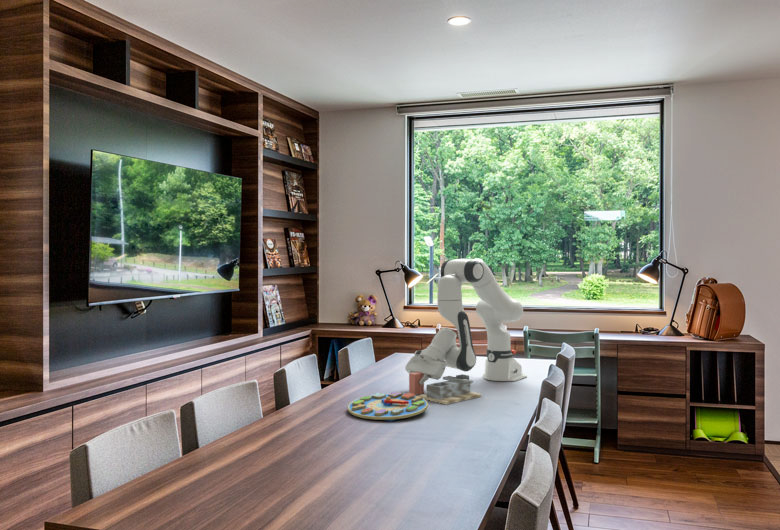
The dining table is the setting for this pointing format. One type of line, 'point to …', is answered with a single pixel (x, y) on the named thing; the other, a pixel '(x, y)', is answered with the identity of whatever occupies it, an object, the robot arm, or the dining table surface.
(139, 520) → the dining table surface
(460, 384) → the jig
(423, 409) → the shape sorting clock
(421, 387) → the salmon pink rectangular box
